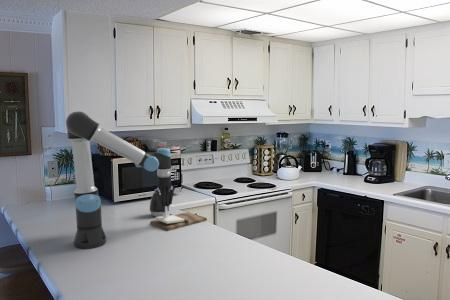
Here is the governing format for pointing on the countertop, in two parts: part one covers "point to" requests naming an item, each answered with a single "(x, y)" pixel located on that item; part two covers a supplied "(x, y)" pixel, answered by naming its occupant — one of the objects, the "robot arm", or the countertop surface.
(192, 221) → the walnut board
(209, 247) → the countertop surface
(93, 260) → the countertop surface
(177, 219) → the tile
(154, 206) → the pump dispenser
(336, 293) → the countertop surface
